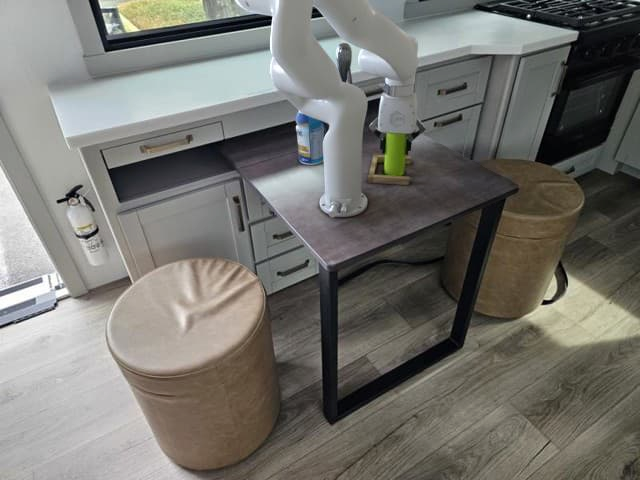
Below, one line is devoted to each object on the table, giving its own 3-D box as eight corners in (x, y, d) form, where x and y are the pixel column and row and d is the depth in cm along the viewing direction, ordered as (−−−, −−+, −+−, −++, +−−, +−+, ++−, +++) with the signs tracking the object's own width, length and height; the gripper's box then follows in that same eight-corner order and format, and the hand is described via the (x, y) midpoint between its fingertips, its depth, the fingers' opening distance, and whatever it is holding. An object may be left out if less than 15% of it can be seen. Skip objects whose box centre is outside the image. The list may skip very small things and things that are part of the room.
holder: (408, 185, 120) (409, 178, 119) (368, 182, 122) (368, 176, 121) (410, 162, 131) (411, 156, 129) (373, 160, 133) (373, 154, 132)
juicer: (355, 129, 151) (355, 38, 133) (354, 143, 143) (354, 47, 124) (327, 129, 152) (324, 39, 134) (324, 143, 144) (321, 48, 125)
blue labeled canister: (324, 165, 131) (321, 101, 119) (297, 166, 132) (291, 102, 120) (326, 153, 138) (323, 91, 126) (300, 153, 139) (294, 92, 126)
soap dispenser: (403, 179, 123) (408, 111, 110) (380, 174, 126) (383, 107, 113) (410, 170, 126) (416, 103, 114) (388, 165, 129) (392, 100, 117)
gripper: (364, 92, 110) (363, 156, 121) (433, 94, 107) (425, 160, 118) (368, 83, 116) (366, 145, 127) (433, 84, 112) (426, 148, 123)
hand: (395, 151), depth 122 cm, fingers closed on soap dispenser, 6 cm apart
